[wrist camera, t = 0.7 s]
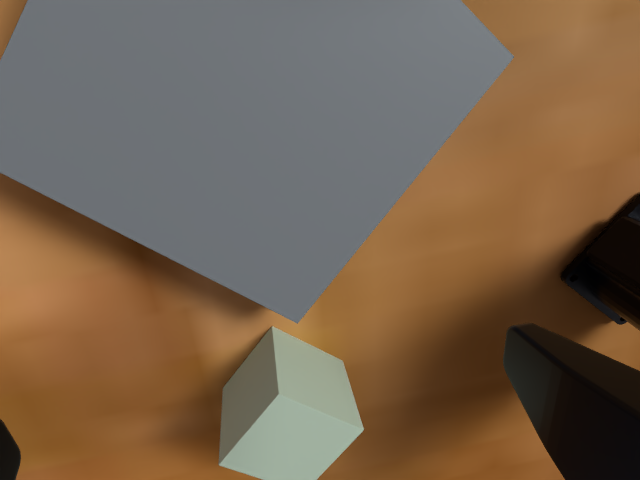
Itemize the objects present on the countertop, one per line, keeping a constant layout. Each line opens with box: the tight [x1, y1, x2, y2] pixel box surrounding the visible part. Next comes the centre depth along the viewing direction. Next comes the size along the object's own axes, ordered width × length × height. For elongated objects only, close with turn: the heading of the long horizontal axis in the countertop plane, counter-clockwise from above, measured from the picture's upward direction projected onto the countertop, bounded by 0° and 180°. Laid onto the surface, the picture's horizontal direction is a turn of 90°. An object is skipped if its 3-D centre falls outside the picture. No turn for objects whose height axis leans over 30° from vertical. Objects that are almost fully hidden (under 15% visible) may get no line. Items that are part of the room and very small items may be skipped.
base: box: [0, 0, 514, 323], centre depth 16 cm, size 14×14×3 cm
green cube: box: [219, 326, 364, 480], centre depth 22 cm, size 5×5×5 cm
